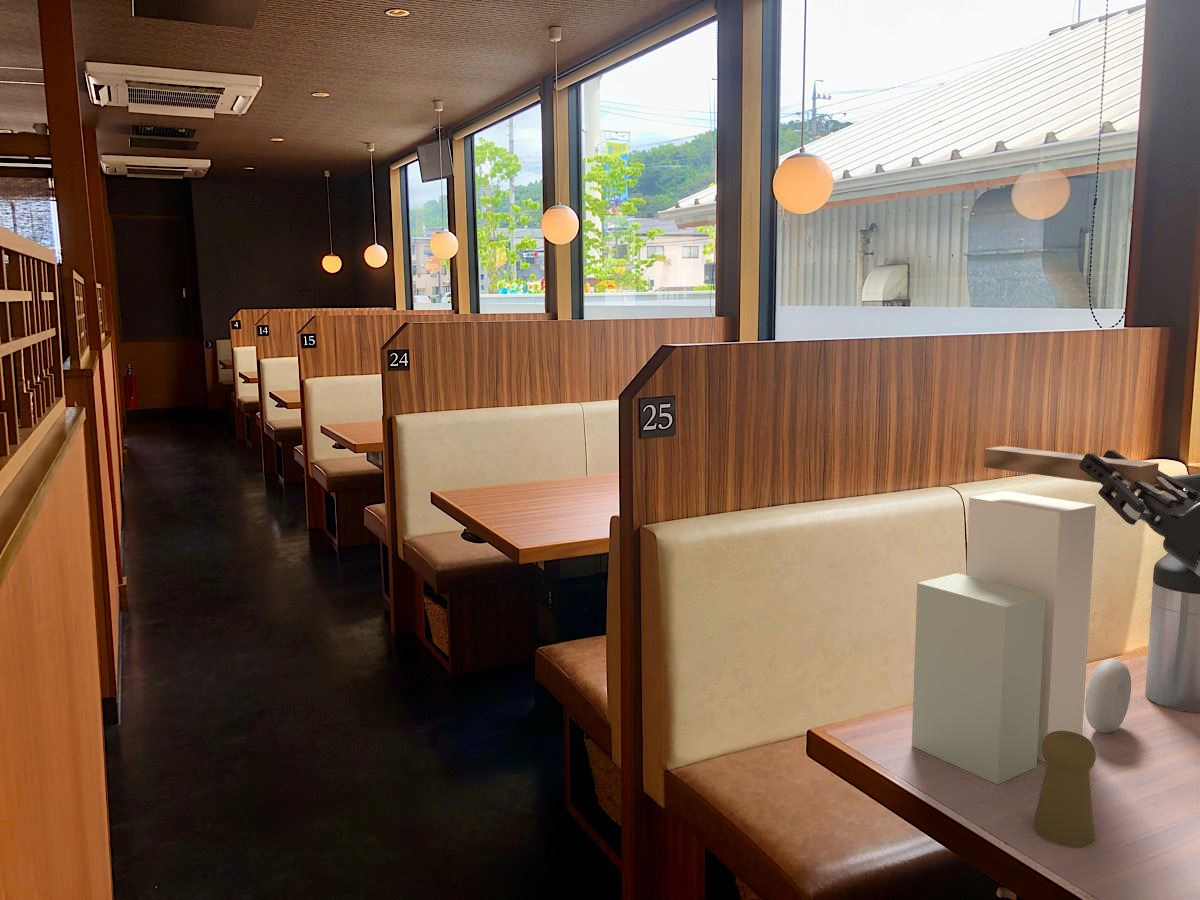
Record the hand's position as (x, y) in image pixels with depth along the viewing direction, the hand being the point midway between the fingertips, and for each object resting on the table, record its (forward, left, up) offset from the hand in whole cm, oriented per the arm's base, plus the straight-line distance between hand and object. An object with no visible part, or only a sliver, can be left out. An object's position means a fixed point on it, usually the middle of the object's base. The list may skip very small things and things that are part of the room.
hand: (1095, 457), depth 112 cm
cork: (+19, -1, -39) cm, 43 cm away
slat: (-2, -3, -3) cm, 4 cm away
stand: (0, -9, -39) cm, 40 cm away
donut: (-11, +3, -39) cm, 40 cm away
